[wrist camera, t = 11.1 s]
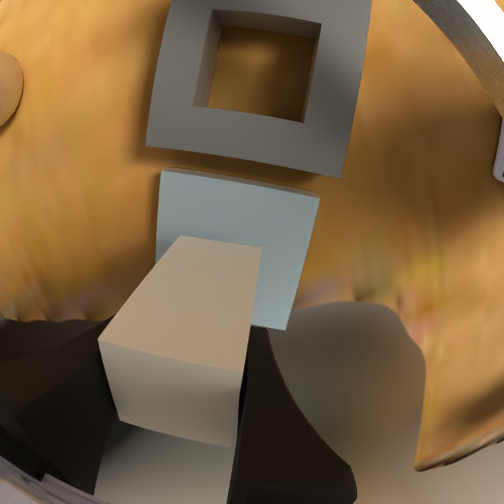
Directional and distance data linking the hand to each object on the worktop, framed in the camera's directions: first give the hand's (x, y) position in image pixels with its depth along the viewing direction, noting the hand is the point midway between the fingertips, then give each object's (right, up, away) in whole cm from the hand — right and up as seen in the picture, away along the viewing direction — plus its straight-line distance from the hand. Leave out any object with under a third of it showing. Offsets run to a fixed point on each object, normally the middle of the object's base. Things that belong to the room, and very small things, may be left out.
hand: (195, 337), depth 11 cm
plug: (0, +2, +4) cm, 5 cm away
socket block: (+3, +13, +4) cm, 14 cm away
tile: (+1, +4, +8) cm, 9 cm away
